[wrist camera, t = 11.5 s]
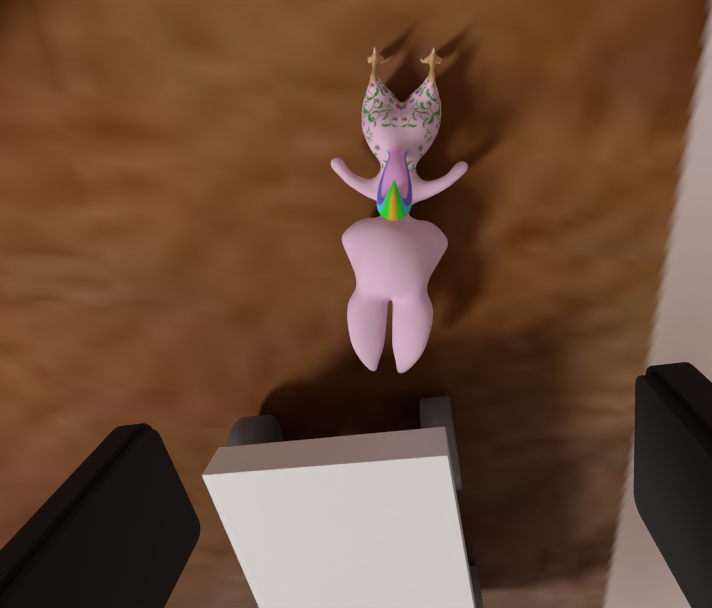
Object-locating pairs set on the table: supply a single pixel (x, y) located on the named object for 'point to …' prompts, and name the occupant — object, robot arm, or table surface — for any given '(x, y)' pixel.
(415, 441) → the trolley
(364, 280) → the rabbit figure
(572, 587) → the table surface
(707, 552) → the robot arm
